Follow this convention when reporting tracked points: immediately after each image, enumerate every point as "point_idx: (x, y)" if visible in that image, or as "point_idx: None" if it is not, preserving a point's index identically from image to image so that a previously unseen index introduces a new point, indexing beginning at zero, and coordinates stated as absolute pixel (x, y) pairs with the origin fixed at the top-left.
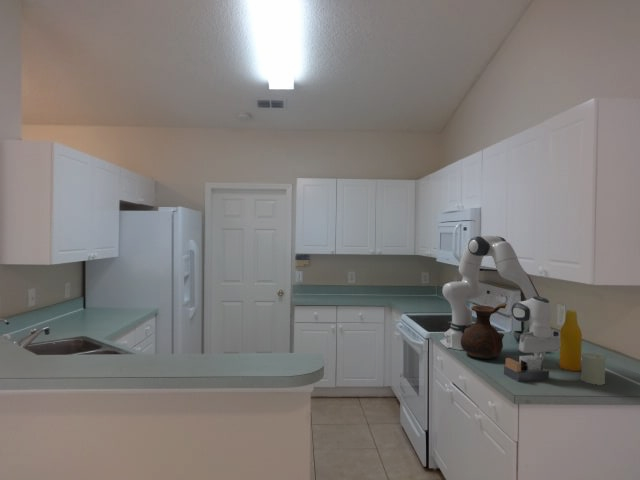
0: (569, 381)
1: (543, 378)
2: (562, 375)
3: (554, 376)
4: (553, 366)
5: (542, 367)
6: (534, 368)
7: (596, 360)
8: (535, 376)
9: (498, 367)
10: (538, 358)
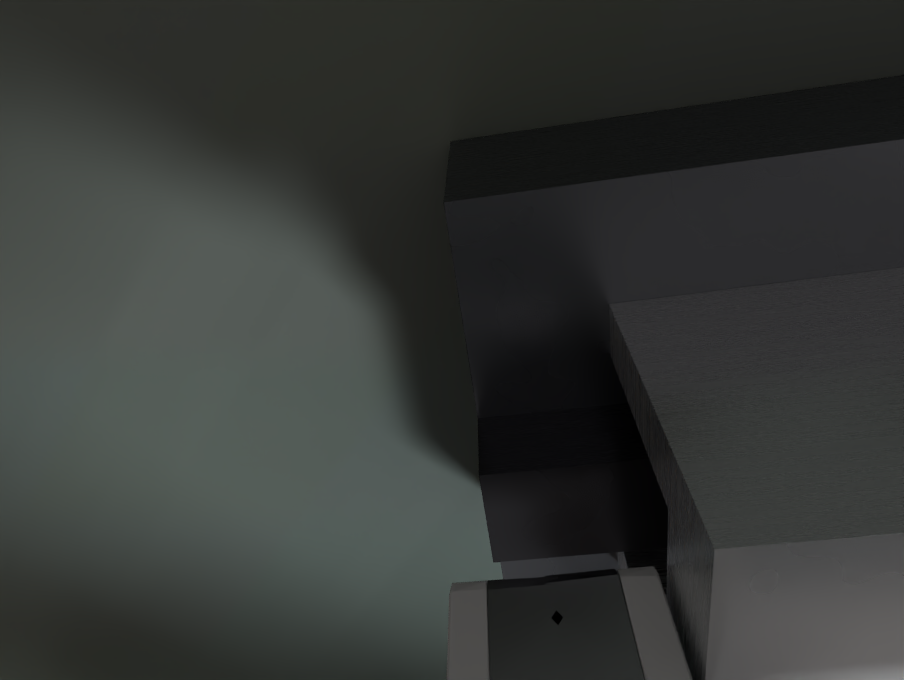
0: (9, 12)
1: (597, 129)
2: (37, 361)
3: (219, 318)
4: (40, 672)
5: (479, 428)
6: (882, 296)
7: None
8: (869, 105)
9: None
10: (787, 616)
